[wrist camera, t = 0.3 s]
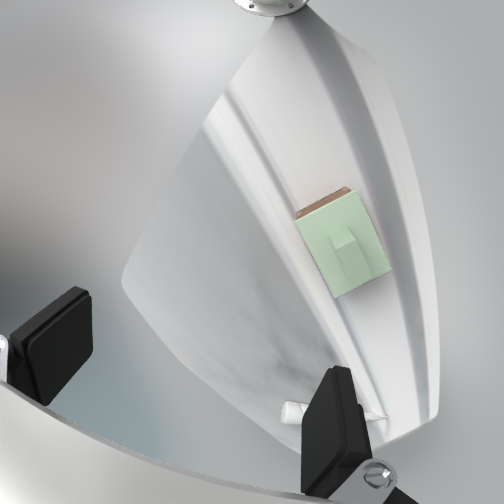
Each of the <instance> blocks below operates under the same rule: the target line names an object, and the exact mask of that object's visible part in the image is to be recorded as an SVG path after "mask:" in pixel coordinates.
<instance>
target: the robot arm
mask: <svg viewBox="0 0 504 504" xmlns="http://www.w3.org/2000/svg"><path fill="white" fill-rule="evenodd" d="M233 1H234V2H235V3H236V4H237V5H238V6H239V7H241V8H242V9H244V10H246V11H247V12H250V13H253V14H255V15H261V16H282V15H286V14H290V13H292V12H295V11H297V10H298V9H300V8H302V7H303V6H304V5H305V4H306V3H307V2H308V1H309V0H233ZM289 7H292V8H289ZM251 8H253V9H251ZM91 299H92V298H91V296H90V295H89V293H88V291H87V290H84V289H82V288H79V287H76V286H74V287H73V288H71V289H70V290H68V291H67V292H66V293H65V294H63V295H61V296H60V297H59V298H57V299H56V300H55V301H53V302H52V303H51V304H49V305H48V306H47V307H46V308H44V309H43V310H41V311H40V312H39V313H37V314H36V315H35V316H33V317H32V318H31V319H29V320H28V321H27V322H25V323H24V324H23V325H22V326H20V327H19V328H18V329H17V330H15V331H14V332H13V333H11V334H10V339H9V340H6V338H5V337H4V336H2V335H0V504H418V503H417V502H416V501H414V500H413V499H412V498H410V497H409V496H408V495H406V494H405V493H403V492H402V491H401V490H399V489H398V488H397V487H396V486H395V485H396V483H397V474H396V471H395V470H394V468H393V467H392V466H391V465H390V464H389V463H387V462H385V461H384V460H380V459H373V457H372V451H371V446H370V441H369V436H368V431H367V426H366V421H365V416H364V411H363V408H362V405H360V404H358V403H357V398H356V393H355V389H354V384H353V379H352V375H351V370H350V369H349V368H346V367H341V366H334V367H333V368H329V369H328V370H327V372H326V374H325V375H324V377H323V379H322V381H321V383H320V385H319V387H318V389H317V391H316V393H315V395H314V397H313V398H312V400H311V402H310V404H309V406H308V408H307V409H306V411H305V413H304V415H303V418H302V447H301V493H305V495H300V494H294V493H287V492H281V491H275V490H269V489H264V488H259V487H254V486H249V485H244V484H239V483H235V482H230V481H226V480H222V479H218V478H214V477H211V476H206V475H203V474H199V473H196V472H193V471H189V470H186V469H183V468H180V467H177V466H173V465H171V464H167V463H165V462H162V461H159V460H156V459H154V458H151V457H148V456H146V455H143V454H140V453H138V452H135V451H133V450H130V449H128V448H125V447H123V446H121V445H118V444H116V443H114V442H112V441H110V440H107V439H105V438H103V437H101V436H99V435H97V434H95V433H93V432H91V431H88V430H86V429H84V428H82V427H81V426H79V425H77V424H75V423H73V422H71V421H69V420H67V419H65V418H63V417H62V416H60V415H58V414H56V413H55V412H53V411H51V410H50V409H48V408H46V407H45V406H48V405H49V404H50V403H51V401H52V400H53V399H54V398H55V397H56V395H57V394H58V393H59V392H60V391H61V390H62V388H63V387H64V386H65V385H66V384H67V383H68V381H69V380H70V379H71V378H72V377H73V376H74V374H75V373H76V372H77V371H78V370H79V369H80V368H81V366H82V365H83V364H84V363H85V362H86V361H87V359H88V358H89V357H90V356H91V354H92V352H93V337H92V300H91Z"/></svg>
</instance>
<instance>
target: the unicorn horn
mask: <svg viewBox="0 0 504 504" xmlns="http://www.w3.org/2000/svg"><path fill="white" fill-rule="evenodd" d="M308 406H309V404H303V403H298V402H292V401H285V402H284V404H283V406H282V410H281V423H282V424H302V418H303V415H304V413H305V411H306V409H307V408H308ZM364 416H365V421H368V420H369V421H372V420H379V419H382V418H383V419H384V418H388V416H385V415H380V414H373V413H364Z"/></svg>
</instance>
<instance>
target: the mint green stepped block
mask: <svg viewBox="0 0 504 504" xmlns="http://www.w3.org/2000/svg"><path fill="white" fill-rule="evenodd" d="M294 223H295V225H296V227H297V228H298V230H299V232H300V234H301V236H302V238H303V239H304V241H305V243H306V245H307V247H308V249H309V250H310V252H311V254H312V256H313V258H314V260H315V262H316V264H317V265H318V267H319V269H320V271H321V273H322V275H323V277H324V279H325V281H326V283H327V284H328V286H329V288H330V290H331V292H332V294H333V296H334V298H336V297H338V296H340V295H342V294H345V293H347V292H349V291H351V290H353V289H355V288H357V287H359V286H361V285H363V284H365V283H367V282H369V281H371V280H373V279H375V278H377V277H379V276H380V275H382V274H384V273H386V272H388V271H390V270H392V269H391V266H390V264H389V261H388V259H387V256H386V254H385V252H384V249H383V247H382V245H381V242H380V240H379V238H378V235H377V233H376V231H375V229H374V226H373V224H372V222H371V220H370V217H369V215H368V213H367V211H366V209H365V207H364V205H363V203H362V200H361V198H360V196H359V194H358V192H357V190H353V191H351V192H349V193H347V194H345V195H343V196H341V197H340V198H338V199H336V200H334V201H332V202H330V203H328V204H326V205H324V206H322V207H320V208H319V209H317V210H315V211H313V212H311V213H309V214H307V215H305V216H303V217H301V218H299V219H298V220H296V221H294Z"/></svg>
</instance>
